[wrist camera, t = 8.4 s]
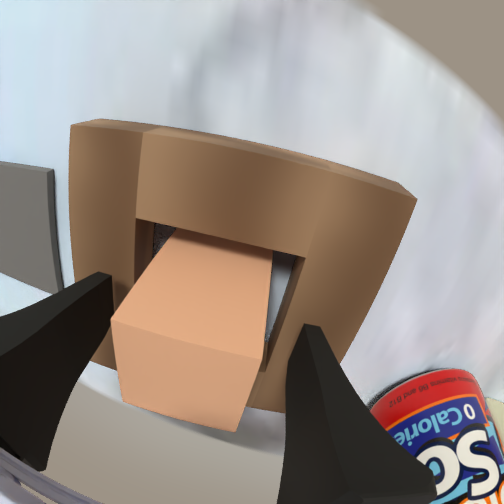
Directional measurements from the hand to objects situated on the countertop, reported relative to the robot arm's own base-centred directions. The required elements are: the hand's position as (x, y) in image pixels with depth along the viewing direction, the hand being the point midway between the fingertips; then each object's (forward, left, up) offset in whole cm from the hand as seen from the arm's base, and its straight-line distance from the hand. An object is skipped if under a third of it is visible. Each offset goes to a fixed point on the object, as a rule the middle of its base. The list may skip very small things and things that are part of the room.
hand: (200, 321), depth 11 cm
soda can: (+14, -6, -3) cm, 16 cm away
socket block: (0, 0, -3) cm, 3 cm away
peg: (0, 0, -3) cm, 3 cm away
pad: (-12, 0, -3) cm, 12 cm away
